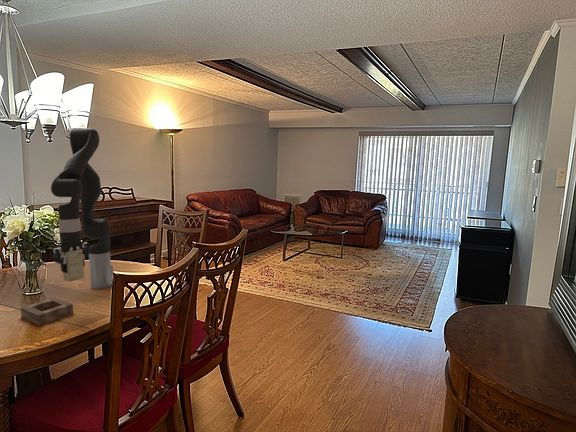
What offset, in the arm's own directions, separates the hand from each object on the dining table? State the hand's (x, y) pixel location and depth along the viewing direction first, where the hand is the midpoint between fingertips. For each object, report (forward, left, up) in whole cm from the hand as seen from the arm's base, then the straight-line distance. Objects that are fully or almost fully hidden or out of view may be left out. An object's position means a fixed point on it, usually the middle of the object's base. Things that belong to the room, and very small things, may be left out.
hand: (73, 270), depth 154 cm
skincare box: (0, 0, -4) cm, 4 cm away
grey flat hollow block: (+8, -6, -18) cm, 20 cm away
